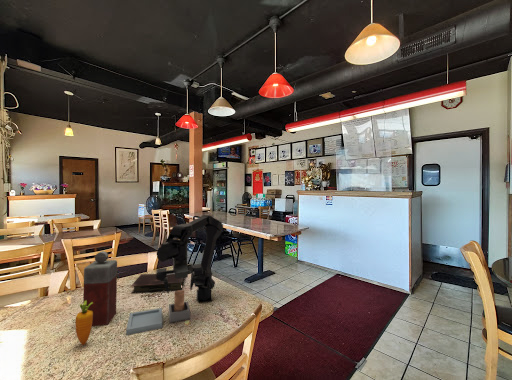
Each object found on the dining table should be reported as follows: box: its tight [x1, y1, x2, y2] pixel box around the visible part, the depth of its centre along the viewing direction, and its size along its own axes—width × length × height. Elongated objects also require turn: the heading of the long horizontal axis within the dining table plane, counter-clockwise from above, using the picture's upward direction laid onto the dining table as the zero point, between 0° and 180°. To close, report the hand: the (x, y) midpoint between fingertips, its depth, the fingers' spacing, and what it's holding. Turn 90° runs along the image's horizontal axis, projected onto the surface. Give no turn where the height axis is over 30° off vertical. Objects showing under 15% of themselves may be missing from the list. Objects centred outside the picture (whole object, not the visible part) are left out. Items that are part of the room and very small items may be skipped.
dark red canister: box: [82, 250, 118, 327], centre depth 97 cm, size 9×11×28 cm
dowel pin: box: [173, 289, 185, 312], centre depth 99 cm, size 4×4×10 cm
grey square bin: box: [168, 301, 191, 324], centre depth 99 cm, size 8×8×4 cm
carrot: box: [75, 301, 93, 346], centre depth 80 cm, size 5×5×15 cm
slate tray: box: [125, 307, 163, 336], centre depth 94 cm, size 12×12×2 cm
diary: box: [130, 273, 184, 294], centre depth 130 cm, size 19×25×5 cm
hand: (179, 291), depth 99 cm, fingers open, 9 cm apart
